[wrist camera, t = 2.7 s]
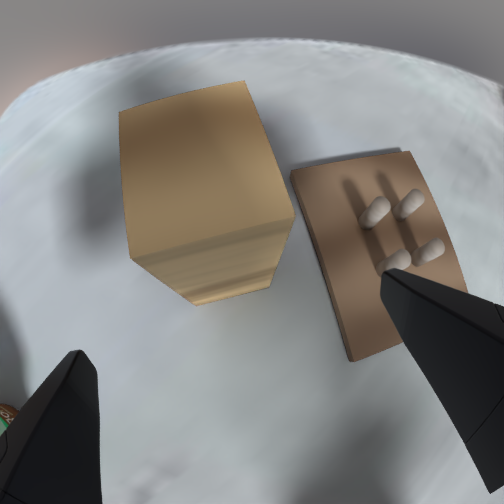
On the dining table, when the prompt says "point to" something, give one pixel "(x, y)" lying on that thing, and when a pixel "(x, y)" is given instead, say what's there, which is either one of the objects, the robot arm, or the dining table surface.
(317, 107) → the dining table surface
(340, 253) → the peg base
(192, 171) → the oak block
